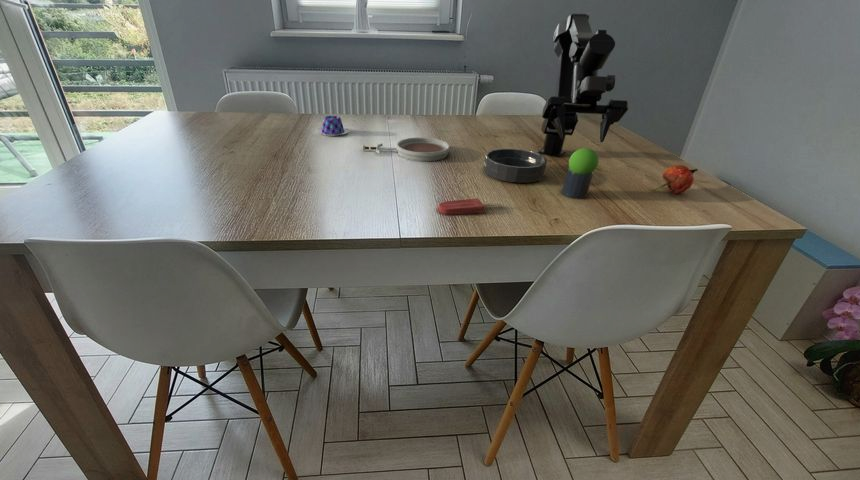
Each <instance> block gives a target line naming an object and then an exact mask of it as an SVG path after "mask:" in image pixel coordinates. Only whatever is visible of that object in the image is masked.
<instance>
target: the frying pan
mask: <svg viewBox="0 0 860 480" xmlns="http://www.w3.org/2000/svg"><path fill="white" fill-rule="evenodd" d="M360 149H361V151H363V152H364V151H366V150H369V151H372V150H373V151H375V152H376V153H377V154H379V155H381V151H397V152H398V153H397V154H398V155H399V156H400V157H401V158H404V159H406V160H411V161H417V162H435V161H440V160H443V159H445V158H446V157H447V156H448V153H449V152H450V151H451V146H450V144H449V143H448V142H446V141H445V140H441V139H439V138H433V137H420V136H419V137H408V138H404V139H400V140H399V141H397V143H396V145H395V147H388V146H387V147H386V146H385V147H384V144H383V143H380V144H377V145H376V146H366V145H364V144H362V145H361V146H360Z"/></svg>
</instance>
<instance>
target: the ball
mask: <svg viewBox="0 0 860 480" xmlns="http://www.w3.org/2000/svg"><path fill="white" fill-rule="evenodd" d="M598 164H599V156H598V154H597V152H596V151H595V150H594V149H591V148H588V147H583V148H579V149H577V150H576V151H574V152H572V154H571V156H570V157H569V160H568V168H570V170H571V171H572V172H574V173H578V174H590V173H592V172H594V171H595V170H596V169H597V167H598Z"/></svg>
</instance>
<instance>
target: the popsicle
mask: <svg viewBox="0 0 860 480" xmlns="http://www.w3.org/2000/svg"><path fill="white" fill-rule="evenodd" d="M501 205H502V202H492V203H491V202H490V203H483V202H482V201H481V200H480V199H479V198H466V199H458V200H447V201H446V200H445V201H441V202H440V203H439V204H438V209H437V210H438V212H439V213H441V214H442V215H448V216H450V215H451V216H452V215H468V214H483V213H485V207H494V206H495V207H496V206H501Z"/></svg>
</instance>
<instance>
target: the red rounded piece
mask: <svg viewBox="0 0 860 480" xmlns="http://www.w3.org/2000/svg"><path fill="white" fill-rule="evenodd" d="M696 172H698V168H694V169H690V168H689V167H688V166H687V165H684V164H683V165H682V164H674V165H671V166H669V167H668V168H666V169H665V170H664V171H663V173H662V179H663V181H664V182H665V183H664V184H663V185H661V186H658V187H656V188H654V189H653V190H652V191H657V190H659V189H661V188H663V187H666V189H667V190H668V191H669V192H671V194H673V195H681V194H683V193H685V192H687V191H688V190H690V189H691V187H692V185H693V184H694V179H695V178H694V176H693V175H694V173H696Z"/></svg>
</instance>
